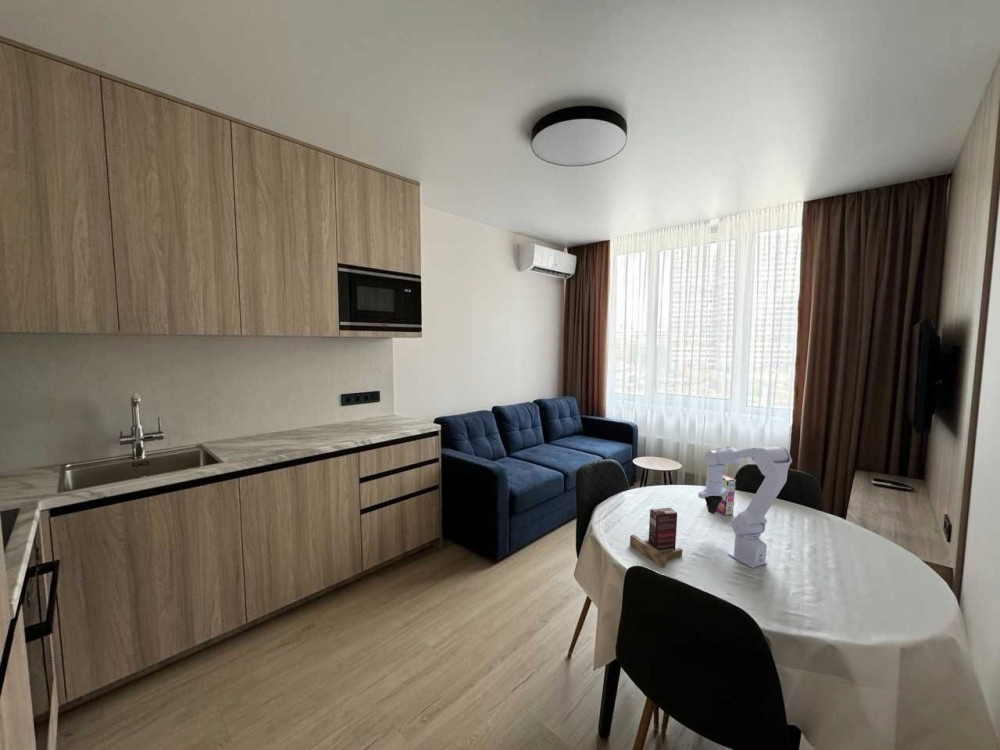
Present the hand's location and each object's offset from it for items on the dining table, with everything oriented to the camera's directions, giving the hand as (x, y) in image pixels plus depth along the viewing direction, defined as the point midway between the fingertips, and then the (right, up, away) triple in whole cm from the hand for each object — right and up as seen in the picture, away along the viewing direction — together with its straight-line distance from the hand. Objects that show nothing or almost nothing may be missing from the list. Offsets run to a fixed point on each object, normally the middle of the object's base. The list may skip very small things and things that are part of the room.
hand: (711, 512), depth 165 cm
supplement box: (-25, -11, -12) cm, 30 cm away
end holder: (-26, -10, -13) cm, 31 cm away
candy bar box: (+16, -7, +25) cm, 31 cm away
